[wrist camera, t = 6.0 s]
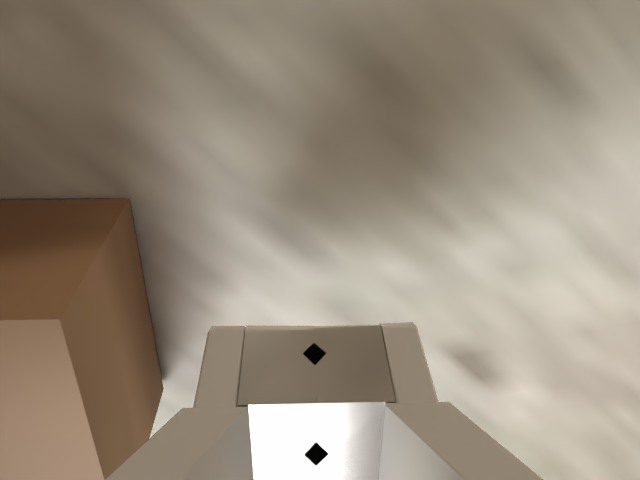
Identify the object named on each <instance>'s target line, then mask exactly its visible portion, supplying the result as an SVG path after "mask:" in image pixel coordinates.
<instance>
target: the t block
mask: <svg viewBox="0 0 640 480" xmlns="http://www.w3.org/2000/svg"><path fill="white" fill-rule="evenodd" d="M162 392H163V384H162V378H161V373H160V367H159V362H158V356H157V351H156V345H155V340H154V334H153V329H152V323H151V318H150V312H149V307H148V301H147V296H146V290H145V284H144V279H143V273H142V268H141V262H140V257H139V251H138V246H137V240H136V235H135V229H134V224H133V218H132V213H131V207H130V202H129V199H40V200H0V480H106V479H107V478H108V477H109V476H110V475H111V474H112V473H113V472H114V471H115V470H117V469H118V468H119V467H120V466H121V465H122V464H123V463H124V462H125V461H126V460H127V459H128V458H129V457H131V456H132V455H133V454H134V453H135V452H136V451H137V450H138V449H139V448H140V447H141V446H142V445H143V444H145V443H146V442H147V441H148V440H149V437H150V434H151V430H152V427H153V423H154V420H155V416H156V413H157V409H158V406H159V402H160V399H161V395H162Z"/></svg>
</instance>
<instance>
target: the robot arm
mask: <svg viewBox="0 0 640 480" xmlns="http://www.w3.org/2000/svg"><path fill="white" fill-rule="evenodd" d="M106 480H543V479H542V478H541V477H539V476H538V475H537V474H536V473H534V472H533V471H532V470H531V469H530V468H528V467H527V466H526V465H525V464H524V463H522V462H521V461H520V460H519V459H517V458H516V457H515V456H514V455H513V454H511V453H510V452H509V451H508V450H507V449H505V448H504V447H503V446H502V445H501V444H499V443H498V442H497V441H496V440H494V439H493V438H492V437H491V436H490V435H488V434H487V433H486V432H485V431H484V430H482V429H481V428H480V427H479V426H477V425H476V424H475V423H474V422H473V421H471V420H470V419H469V418H468V417H467V416H465V415H464V414H463V413H462V412H460V411H459V410H458V409H457V408H456V407H454V406H453V405H452V404H451V403H450V402H438V399H437V395H436V392H435V388H434V385H433V381H432V378H431V375H430V371H429V368H428V364H427V361H426V357H425V354H424V350H423V347H422V344H421V340H420V337H419V333H418V330H417V326H416V325H415V324H414V323H413V322H409V323H385V324H379V325H347V326H246V327H245V326H212V327H211V328H210V330H209V332H208V335H207V340H206V345H205V350H204V355H203V360H202V366H201V371H200V376H199V381H198V386H197V391H196V396H195V401H194V406H193V408H182V409H181V410H180V411H179V412H178V413H177V414H176V415H175V416H174V417H172V418H171V419H170V420H169V421H168V422H167V423H166V424H165V425H164V426H163V427H162V428H161V429H160V430H158V431H157V432H156V433H155V434H154V435H153V436H152V437H151V438H150V439H149V440H148V441H147V442H146V443H145V444H143V445H142V446H141V447H140V448H139V449H138V450H137V451H136V452H135V453H134V454H133V455H132V456H131V457H129V458H128V459H127V460H126V461H125V462H124V463H123V464H122V465H121V466H120V467H119V468H118V469H117V470H115V471H114V472H113V473H112V474H111V475H110V476H109V477H108V478H107V479H106Z"/></svg>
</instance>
